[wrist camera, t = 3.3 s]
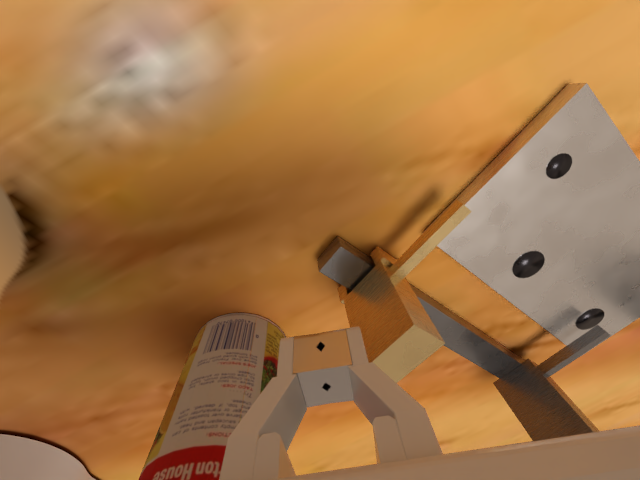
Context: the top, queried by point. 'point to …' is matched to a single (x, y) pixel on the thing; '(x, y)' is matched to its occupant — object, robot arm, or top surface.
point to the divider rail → (489, 354)
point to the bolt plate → (558, 220)
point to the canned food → (213, 396)
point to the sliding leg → (398, 303)
